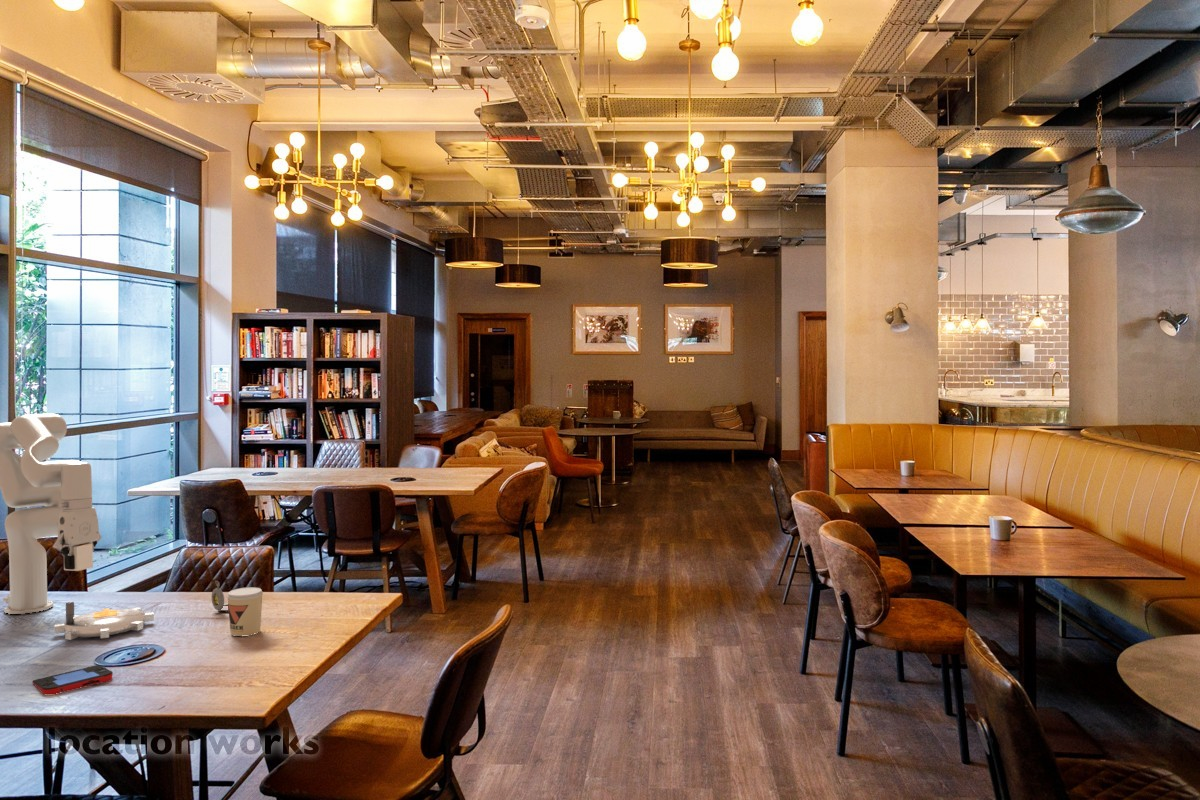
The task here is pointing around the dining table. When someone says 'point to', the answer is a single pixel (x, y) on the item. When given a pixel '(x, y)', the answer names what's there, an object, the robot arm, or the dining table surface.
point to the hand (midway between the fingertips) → (78, 566)
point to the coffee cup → (245, 610)
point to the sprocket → (102, 622)
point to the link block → (82, 557)
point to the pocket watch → (218, 594)
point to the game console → (73, 679)
